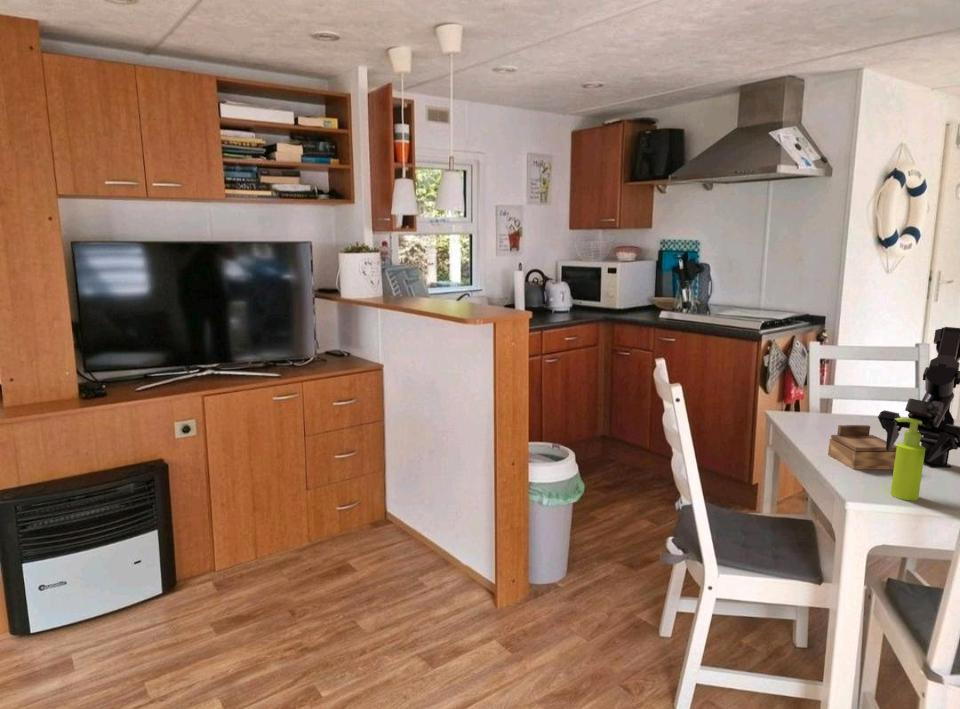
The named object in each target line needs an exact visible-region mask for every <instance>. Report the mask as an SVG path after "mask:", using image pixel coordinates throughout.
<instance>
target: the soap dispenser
mask: <svg viewBox="0 0 960 709" xmlns="http://www.w3.org/2000/svg"><path fill="white" fill-rule="evenodd" d="M895 419H896V420H897V421H898V422H910V428H909V429H907V430H905V431H904V435H903V442H898V443H897V444H896V446H897V449H896V456H895V464H894V469H893V471H892V472H893V473H892V480H891V487H890V488H891V489H890V495H891V496H893V497H895V498H897V499H900V500H903V501H910V500H911V501H918V500H919V497H920V489H921V483H922V474H923V470H924V469H923V468H924V464H923V462H924V455H925V447H923V446H921V442H920V439H921V433H919V431H917V430H918V423H919V424H922V421H921V420H919V419H913V418H909V417H901V418H895Z"/></svg>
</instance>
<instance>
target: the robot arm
mask: <svg viewBox="0 0 960 709" xmlns="http://www.w3.org/2000/svg"><path fill="white" fill-rule="evenodd" d="M934 331H935V332H934V335H933V336H934V337H933V344H935V349H936V352H937V356H936V357H934V358H932V359H930V362H929V366H926V367H924V368H925V369H924V372H923V374H922V381H925V384H924V385H925V387H924V390H925V393H924V396H923V397H922V399H921V400H920V399H915V398H910V397H909V398H908V400H907V403H906V405H905V409H904V411H905V412H908V414H907V418H913V419H919V420H921V421H922V424H919V423H918V430H917V431H918V432H919V433H921V439H920V446H923V447H925V455H924V462H923V465H925V466H928V467H930V468H952V464H950V463H948V461H949V455H950V451H952V450H956V451H957V450H958V449H960V426H958V425H955V419H954V418H953V415H952V414H951V412H950V410H951V404H952V401H953V400H954V397H955V393H954V389H955V388H956V387H957V386H958V385H960V362H959V361H960V327H952V326H944V327H941V328H939V329H938V328H937V329H935V330H934ZM895 418H902V417H901V416H900V413H899V412H896V411H895V412H894V411H891V410H882V411H880V412H879V414H878V416H877V419H878V422H879V423H880V425H881V427H882V429H883V430H885V432H886V441H887V442H886V450H887V451H889V450H890V449H891V448H892V446H893V445H895V443H896V441H897V439H898V438H899V436H900V432H901V430H902V429H903V428H905V429H907V430H909V428H910V422H898V421H897V420H896V419H895Z"/></svg>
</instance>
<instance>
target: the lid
mask: <svg viewBox="0 0 960 709" xmlns="http://www.w3.org/2000/svg"><path fill="white" fill-rule="evenodd" d="M870 430H871V426H870V425H869V424H839V425H838V426H837V434H831V435H830V439H834V440H836V441H838V442H840V443H841V444H843V445H845V446H847V447H849V448H851V449H853V450H855V451H887V450H886V442H887V440H885V439H882V438H881V437H878V436H876V435H874V434H870V432H871V431H870ZM896 449H897V444H894V445H893V446H892V448H891V449H890V450H889V451H896Z"/></svg>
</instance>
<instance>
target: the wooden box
mask: <svg viewBox="0 0 960 709" xmlns="http://www.w3.org/2000/svg"><path fill="white" fill-rule="evenodd" d="M827 456H829V457H831V458H832V459H834V460H836V461H838V462H840V463H841V464H843V465H845V466H847V467H849V468H850V469H852V470H894V464H895V456H896V451H855V450H853V449H851V448H849V447H847V446H845V445H843V444H841V443H840V442H838V441H836V440H834V439H832V438H830V439H829V442H828V450H827Z"/></svg>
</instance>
